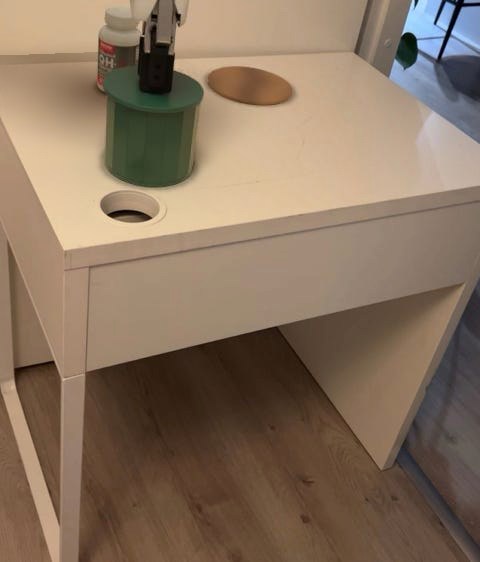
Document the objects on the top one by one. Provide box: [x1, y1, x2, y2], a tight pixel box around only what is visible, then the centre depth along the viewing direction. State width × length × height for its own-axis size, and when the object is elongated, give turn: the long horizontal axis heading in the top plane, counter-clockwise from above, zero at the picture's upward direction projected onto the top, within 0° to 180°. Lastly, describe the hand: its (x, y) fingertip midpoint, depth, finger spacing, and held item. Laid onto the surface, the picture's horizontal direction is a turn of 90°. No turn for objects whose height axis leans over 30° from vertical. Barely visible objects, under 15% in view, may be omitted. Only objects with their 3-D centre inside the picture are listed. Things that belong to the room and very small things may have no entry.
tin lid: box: [103, 28, 205, 113], centre depth 73 cm, size 10×10×7 cm
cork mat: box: [207, 65, 293, 106], centre depth 100 cm, size 12×12×1 cm
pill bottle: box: [96, 5, 144, 92], centre depth 91 cm, size 5×5×10 cm
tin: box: [104, 95, 201, 188], centre depth 77 cm, size 9×9×8 cm
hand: (154, 82), depth 74 cm, fingers closed on tin lid, 2 cm apart
